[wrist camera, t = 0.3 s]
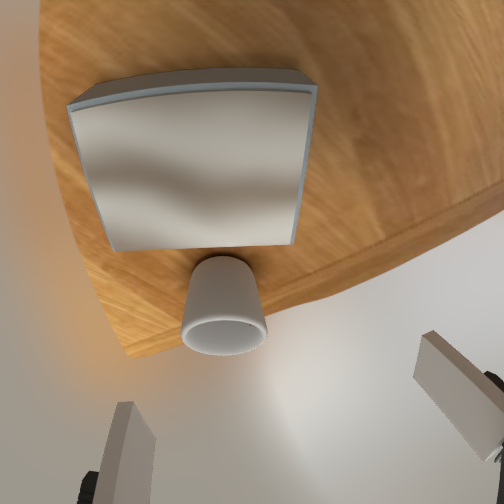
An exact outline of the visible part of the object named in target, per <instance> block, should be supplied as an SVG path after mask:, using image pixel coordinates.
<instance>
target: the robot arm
mask: <svg viewBox="0 0 504 504" xmlns="http://www.w3.org/2000/svg"><path fill="white" fill-rule="evenodd" d="M413 378H414V379H415V380H416V381H417V382H418V384H419V385H420V386H421V387H422V388H423V389H424V391H425V392H426V393H427V394H428V395H429V396H430V398H431V399H432V400H433V401H434V402H435V403H436V405H437V406H438V407H439V408H440V409H441V411H442V412H443V413H444V414H445V415H446V417H447V418H448V419H449V420H450V421H451V423H452V424H453V425H454V426H455V427H456V429H457V430H458V431H459V432H460V434H461V435H462V436H463V437H464V438H465V440H466V441H467V442H468V443H469V445H470V446H471V447H472V448H473V449H474V451H475V452H476V453H477V455H478V456H479V457H480V458H481V460H482V461H483V462H485V461H486V460H487V459H488V458H490V457H491V456H492V455H493V454H495V453H496V451H497V450H498V449H499V447H500V446H501V445H502V446H503V449H502V450H501V452H500V453H499V454H498V455H497V457H496V458H495V461H494V462H495V463H496V462H497V461H498V459H499V458H500V457H501V459H500V461H499V462H501V471H500V481H499V490H498V497H497V504H504V382H503V380H502V379H500V378H499V377H498V376H497V375H496V374H493V373H491V372H489V371H486V372H485V373H482V372H481V371H480V370H479V369H478V368H476V367H475V366H474V365H473V364H472V363H471V362H470V361H469V360H468V359H466V358H465V357H464V356H463V355H462V354H461V353H459V352H458V351H457V350H456V349H455V348H454V347H452V346H451V345H450V344H449V343H448V342H447V341H446V340H444V339H443V338H442V337H441V336H440V335H439V334H437V333H436V332H435V331H434V330H433V331H431V332H428V333H426V334H424V335H422V337H421V343H420V348H419V353H418V357H417V362H416V366H415V371H414V375H413ZM155 442H156V438H155V436H154V435H153V433H152V432H151V430H150V429H149V427H148V425H147V424H146V422H145V420H144V419H143V417H142V415H141V414H140V412H139V410H138V409H137V407H136V405H135V403H134V402H118V403H117V407H116V410H115V413H114V417H113V420H112V424H111V428H110V431H109V435H108V439H107V443H106V447H105V450H104V454H103V459H102V462H101V467H100V471H99V472H94V471H89V472H88V473H87V474H86V476H85V477H84V479H83V480H82V484H81V488H80V493H79V496H78V501H77V504H150V492H151V480H152V470H153V460H154V451H155Z"/></svg>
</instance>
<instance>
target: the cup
mask: <svg viewBox="0 0 504 504" xmlns="http://www.w3.org/2000/svg"><path fill="white" fill-rule="evenodd" d="M267 334H268V331H267V326H266V322H265V318H264V314H263V310H262V305H261V301H260V297H259V293H258V289H257V285H256V281H255V277H254V275H253V272H252V270H251V269H250V267H249V266H248V265H247V264H246V263H244V262H243V261H241V260H239V259H237V258H234V257H228V256H217V257H212V258H209V259H206V260H204V261H203V262H201V263H200V264H199V265H198V266H197V267H196V268H195V269H194V271H193V273H192V275H191V279H190V283H189V288H188V293H187V299H186V304H185V310H184V316H183V321H182V327H181V338H182V340H183V342H184V343H185V344H186V345H187V346H188V347H190V348H191V349H193V350H196V351H198V352H201V353H205V354H211V355H235V354H241V353H245V352H248V351H251V350H253V349H255V348H257V347H259V346H260V345H262V343H263V342H265V340H266V338H267Z"/></svg>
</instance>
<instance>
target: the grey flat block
mask: <svg viewBox="0 0 504 504" xmlns="http://www.w3.org/2000/svg"><path fill="white" fill-rule="evenodd" d="M317 91H318V85H317V84H315V83H314V82H313V81H312V80H311V79H309V78H308V77H307V76H306V75H305V74H303V73H302V72H301V71H300V70H295V69H280V68H251V67H235V68H206V69H191V70H179V71H170V72H161V73H154V74H147V75H140V76H134V77H129V78H123V79H118V80H113V81H108V82H104V83H99V84H95V85H94V86H93V87H91V88H90V89H88V90H87V91H85V92H84V93H83V94H81V95H80V96H78V97H77V98H76V99H74V100H73V101H72V102H70V103H69V104H68V105H66V106H67V111H68V115H69V119H70V123H71V127H72V131H73V135H74V139H75V143H76V146H77V150H78V153H79V157H80V160H81V163H82V167H83V170H84V173H85V176H86V179H87V182H88V185H89V188H90V191H91V194H92V197H93V200H94V203H95V205H96V208H97V211H98V214H99V216H100V219H101V221H102V224H103V227H104V229H105V232H106V234H107V237H108V239H109V242H110V244H111V246H112V249H113V251H134V250H158V249H182V248H208V247H234V246H261V245H289V244H294V238H295V233H296V227H297V222H298V216H299V210H300V204H301V199H302V193H303V187H304V181H305V174H306V168H307V162H308V155H309V149H310V142H311V135H312V128H313V121H314V114H315V106H316V99H317Z"/></svg>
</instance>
